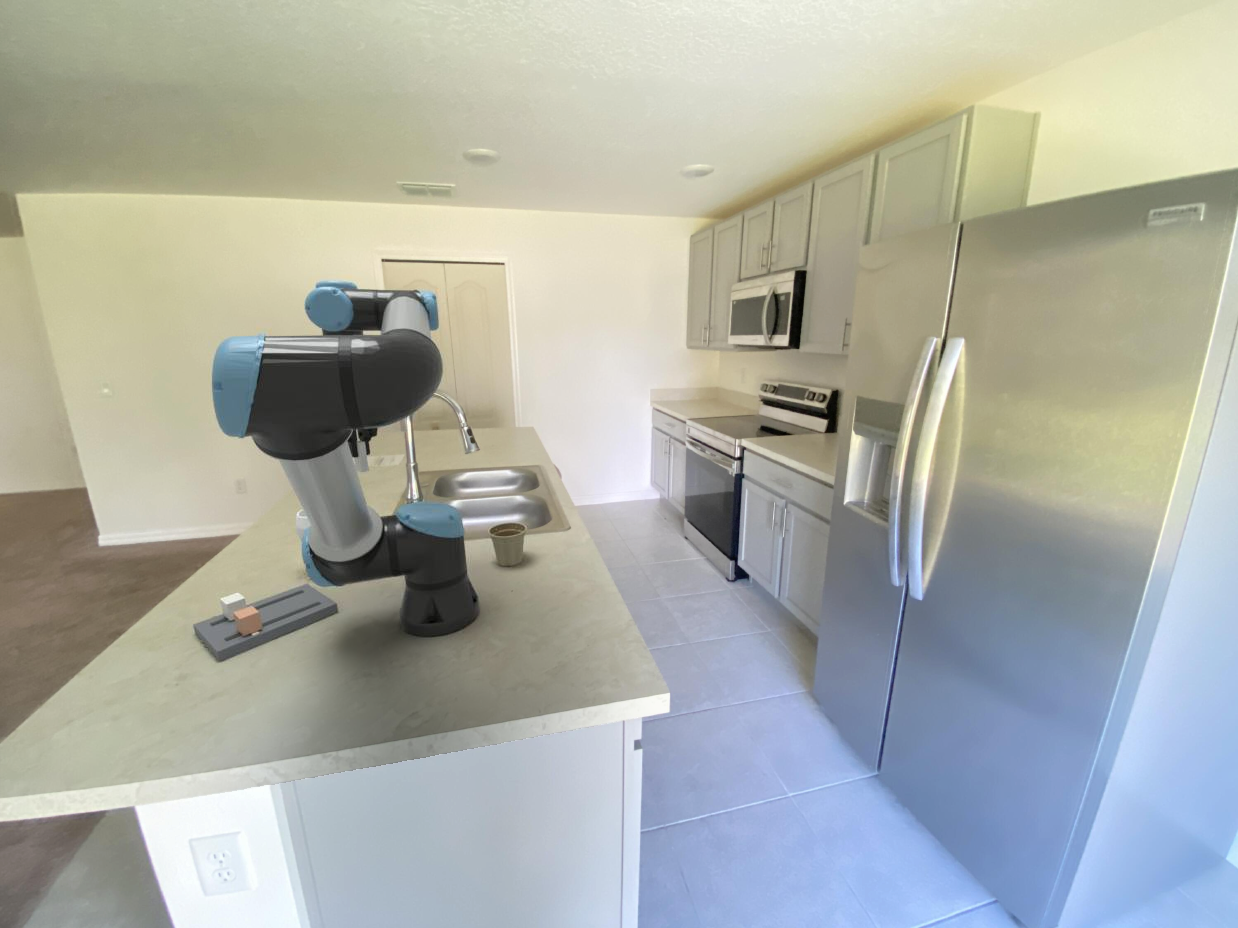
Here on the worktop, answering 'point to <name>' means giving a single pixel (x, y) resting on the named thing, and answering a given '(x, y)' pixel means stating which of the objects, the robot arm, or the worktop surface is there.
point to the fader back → (232, 605)
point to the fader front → (247, 620)
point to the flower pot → (508, 542)
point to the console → (266, 621)
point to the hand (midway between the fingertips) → (362, 470)
